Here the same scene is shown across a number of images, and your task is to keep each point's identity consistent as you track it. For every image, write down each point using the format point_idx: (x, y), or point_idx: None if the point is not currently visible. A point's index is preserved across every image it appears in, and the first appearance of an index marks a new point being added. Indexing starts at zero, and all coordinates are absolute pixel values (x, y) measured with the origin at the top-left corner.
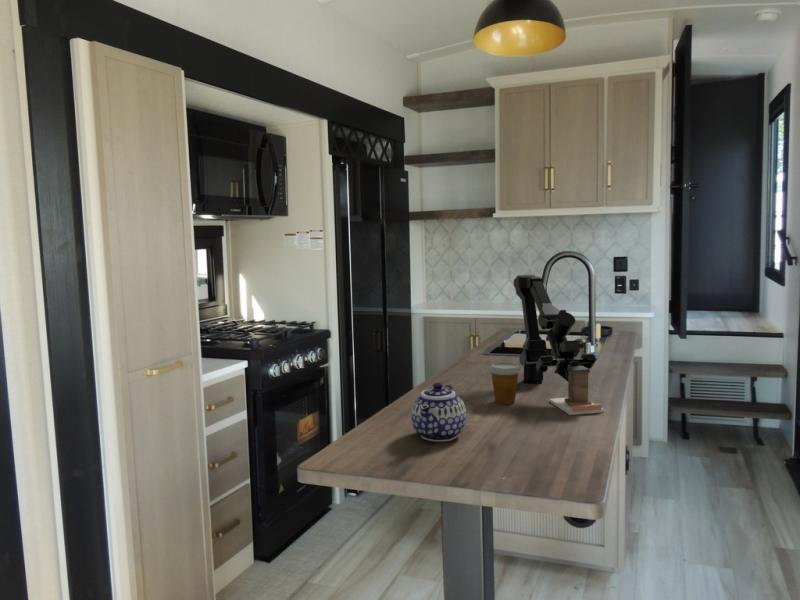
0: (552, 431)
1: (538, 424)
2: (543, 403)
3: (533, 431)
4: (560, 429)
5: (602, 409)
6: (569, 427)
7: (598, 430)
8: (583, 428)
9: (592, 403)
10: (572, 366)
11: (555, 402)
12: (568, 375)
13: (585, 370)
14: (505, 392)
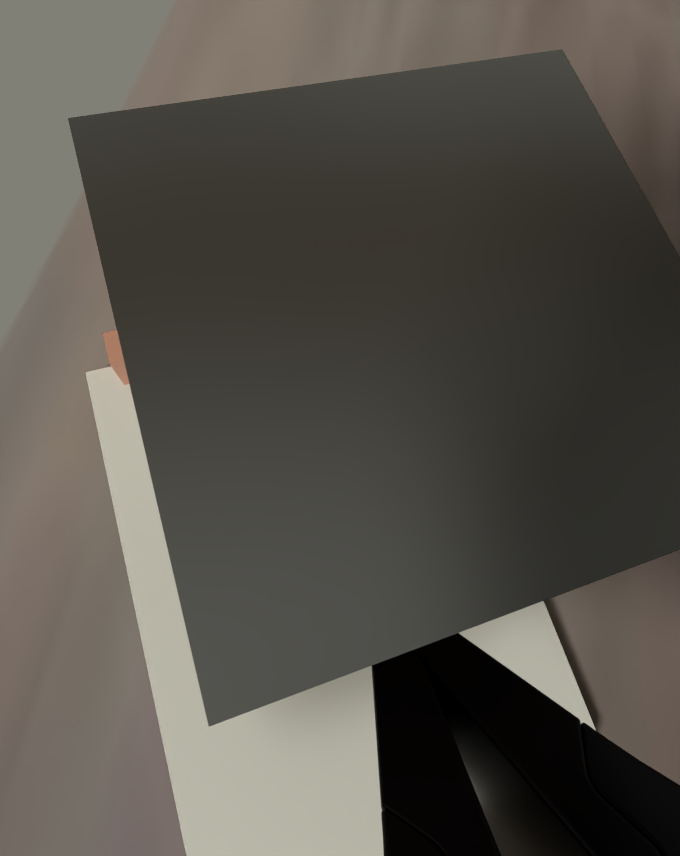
0: (540, 10)
1: (627, 120)
2: (643, 684)
3: (642, 18)
4: (495, 35)
5: (103, 370)
6: (439, 61)
7: (266, 4)
8: (354, 40)
9: (145, 584)
10: (641, 538)
11: (541, 602)
12: (565, 713)
13: (233, 124)
14: None
